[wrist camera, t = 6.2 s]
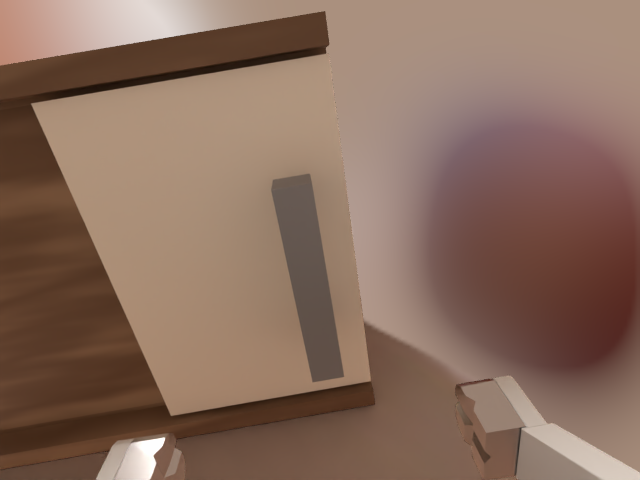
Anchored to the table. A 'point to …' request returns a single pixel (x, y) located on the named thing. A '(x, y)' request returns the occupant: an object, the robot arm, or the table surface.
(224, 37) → the cabinet
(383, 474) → the table surface
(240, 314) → the sliding door
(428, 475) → the table surface
